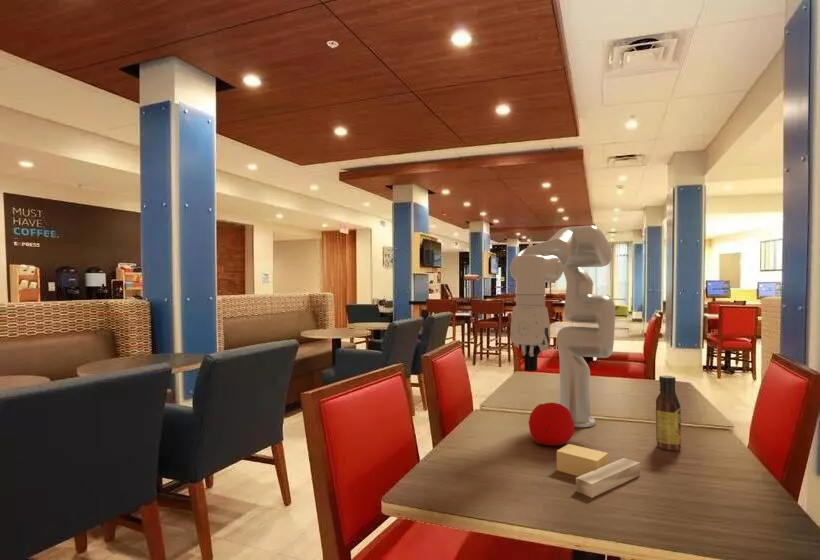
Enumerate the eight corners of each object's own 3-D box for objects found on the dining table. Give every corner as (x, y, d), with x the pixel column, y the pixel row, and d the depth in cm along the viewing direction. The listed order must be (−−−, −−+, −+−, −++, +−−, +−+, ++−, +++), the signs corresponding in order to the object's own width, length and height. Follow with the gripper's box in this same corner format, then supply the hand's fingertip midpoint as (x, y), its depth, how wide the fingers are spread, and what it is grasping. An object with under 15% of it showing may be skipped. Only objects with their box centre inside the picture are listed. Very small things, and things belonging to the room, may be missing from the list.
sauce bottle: (684, 452, 129) (684, 379, 129) (660, 451, 130) (659, 378, 131) (676, 444, 136) (676, 374, 136) (652, 443, 137) (652, 374, 137)
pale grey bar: (575, 491, 105) (575, 477, 106) (624, 469, 117) (624, 457, 117) (592, 497, 102) (592, 484, 102) (639, 475, 114) (639, 462, 114)
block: (556, 471, 117) (556, 450, 117) (569, 463, 123) (568, 443, 123) (597, 482, 111) (597, 461, 111) (608, 473, 116) (608, 453, 116)
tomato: (548, 462, 130) (565, 449, 141) (574, 428, 126) (589, 418, 137) (513, 429, 137) (531, 419, 148) (536, 396, 133) (554, 388, 144)
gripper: (499, 300, 129) (499, 368, 129) (544, 302, 117) (544, 377, 117) (518, 300, 134) (518, 365, 134) (563, 302, 122) (563, 373, 122)
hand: (530, 370), depth 126 cm, fingers closed
